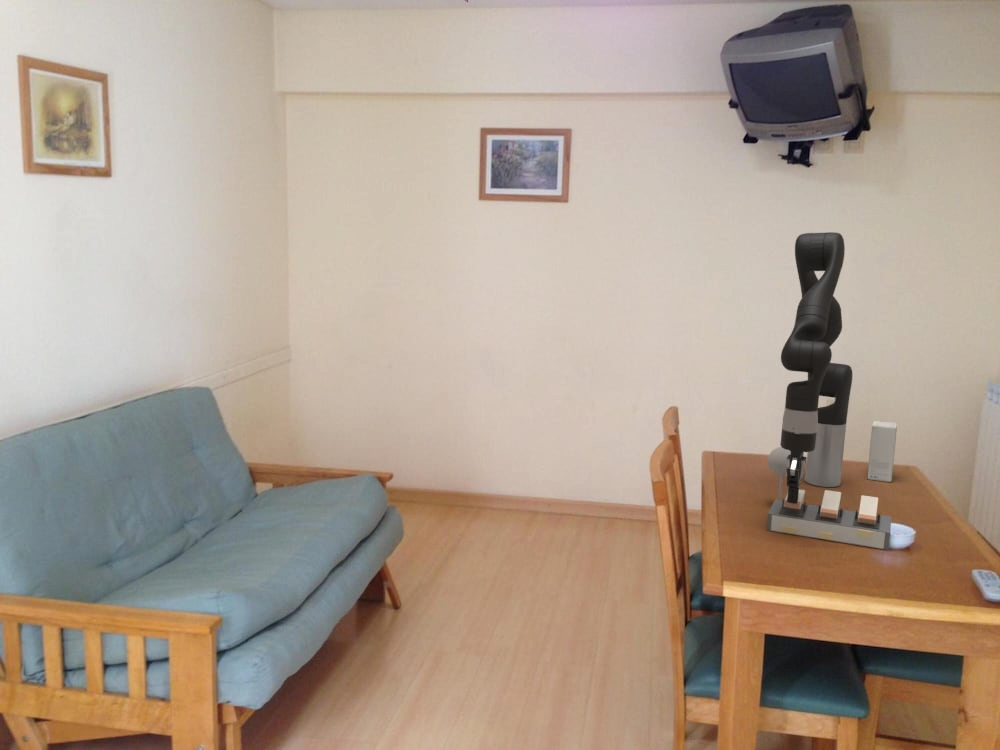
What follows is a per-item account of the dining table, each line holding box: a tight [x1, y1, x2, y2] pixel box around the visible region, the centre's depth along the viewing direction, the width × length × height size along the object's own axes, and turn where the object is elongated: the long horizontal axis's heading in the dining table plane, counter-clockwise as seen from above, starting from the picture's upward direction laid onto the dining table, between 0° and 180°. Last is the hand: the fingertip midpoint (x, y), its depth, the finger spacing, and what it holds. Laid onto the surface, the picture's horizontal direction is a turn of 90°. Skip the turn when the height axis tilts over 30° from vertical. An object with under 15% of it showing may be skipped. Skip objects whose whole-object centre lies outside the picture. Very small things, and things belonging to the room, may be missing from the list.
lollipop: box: [767, 446, 791, 501], centre depth 226 cm, size 7×7×15 cm
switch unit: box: [766, 499, 892, 551], centre depth 208 cm, size 12×26×6 cm, turn 66°
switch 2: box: [820, 489, 842, 519], centre depth 208 cm, size 9×4×1 cm, turn 155°
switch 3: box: [858, 494, 879, 524], centre depth 204 cm, size 9×4×1 cm, turn 155°
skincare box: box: [867, 420, 898, 483], centre depth 254 cm, size 8×7×16 cm
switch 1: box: [784, 488, 806, 509], centre depth 211 cm, size 9×4×1 cm, turn 155°
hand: (792, 502), depth 207 cm, fingers closed
